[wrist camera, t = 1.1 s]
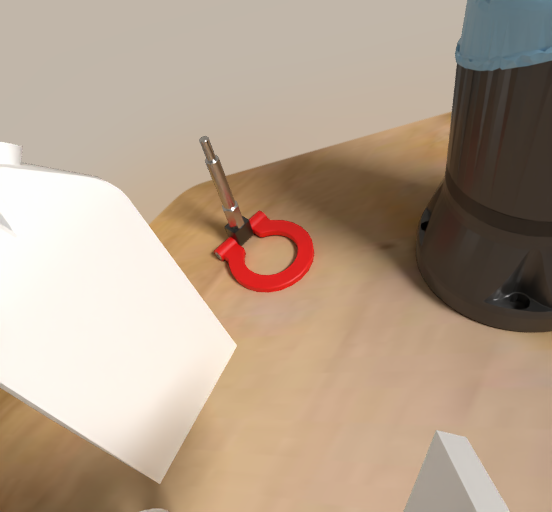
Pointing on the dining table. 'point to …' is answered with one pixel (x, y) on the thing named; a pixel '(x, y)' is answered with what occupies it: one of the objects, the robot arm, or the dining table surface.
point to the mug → (155, 510)
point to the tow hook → (261, 226)
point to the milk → (100, 317)
